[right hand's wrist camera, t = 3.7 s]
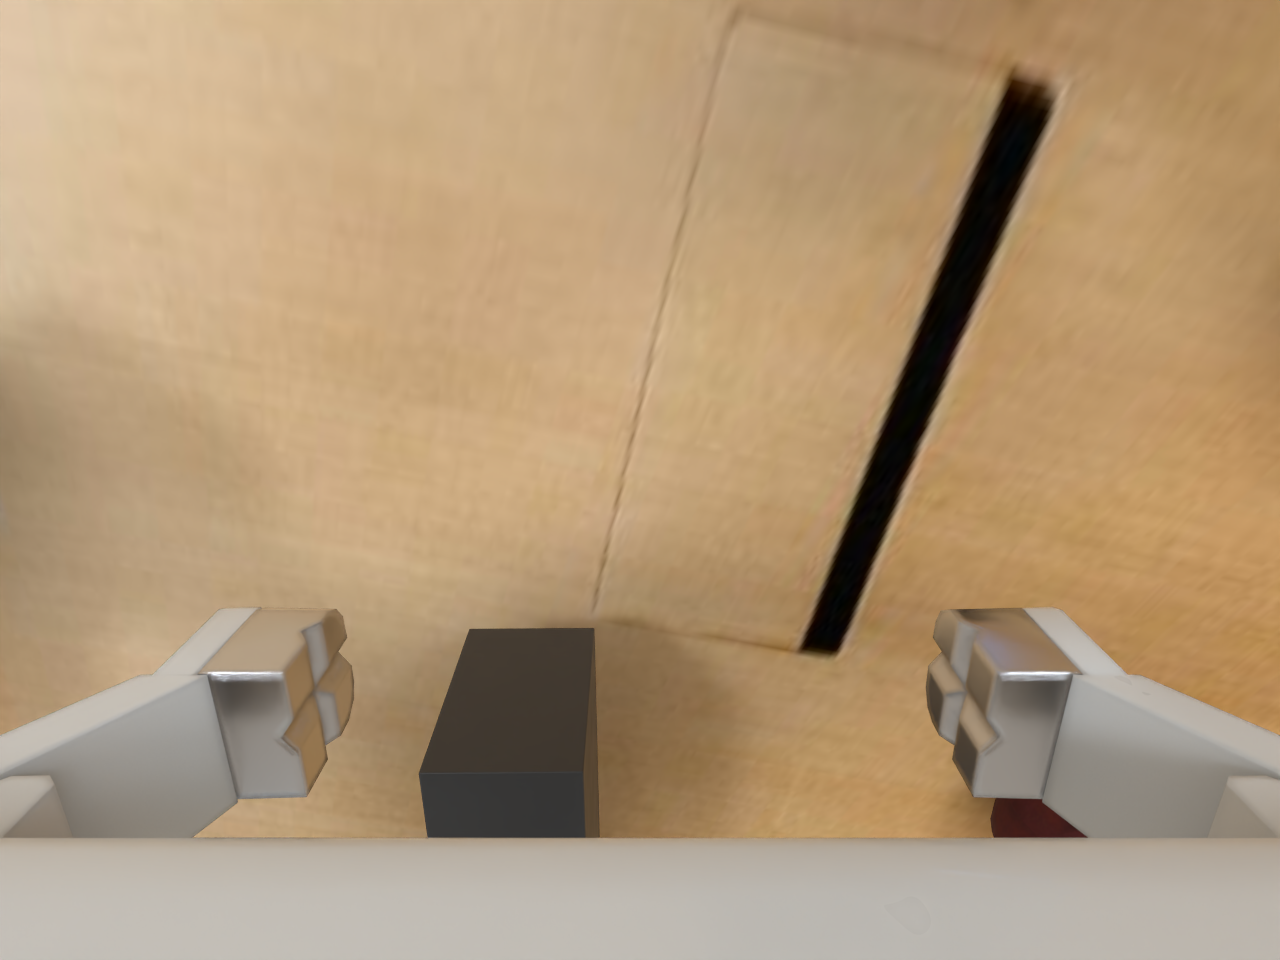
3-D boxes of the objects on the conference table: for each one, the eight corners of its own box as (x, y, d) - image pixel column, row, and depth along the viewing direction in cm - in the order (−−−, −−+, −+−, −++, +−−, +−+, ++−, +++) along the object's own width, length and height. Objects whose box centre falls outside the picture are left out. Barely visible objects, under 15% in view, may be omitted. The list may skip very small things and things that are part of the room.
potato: (980, 841, 51) (1030, 937, 45) (964, 752, 49) (1015, 841, 42) (1090, 818, 50) (1158, 911, 44) (1081, 727, 48) (1152, 812, 41)
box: (469, 628, 39) (418, 773, 30) (594, 627, 39) (583, 772, 30) (501, 964, 48) (471, 1156, 39) (602, 963, 49) (596, 1154, 39)
